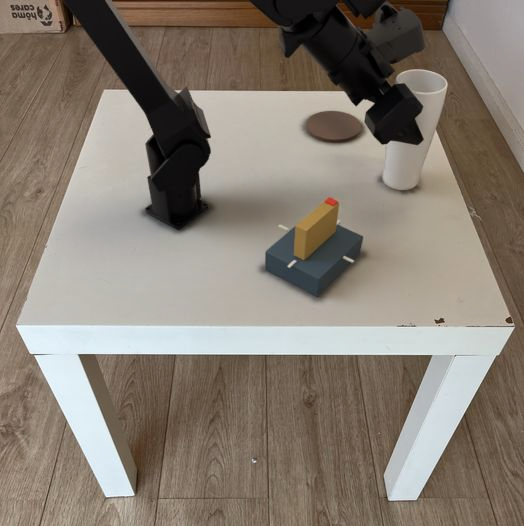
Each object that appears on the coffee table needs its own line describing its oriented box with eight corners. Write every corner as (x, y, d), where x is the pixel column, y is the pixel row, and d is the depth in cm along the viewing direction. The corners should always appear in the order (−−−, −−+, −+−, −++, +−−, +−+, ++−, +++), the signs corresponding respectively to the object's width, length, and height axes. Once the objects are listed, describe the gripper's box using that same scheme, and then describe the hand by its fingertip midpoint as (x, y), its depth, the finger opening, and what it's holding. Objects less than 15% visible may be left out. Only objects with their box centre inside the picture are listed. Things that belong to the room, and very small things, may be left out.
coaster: (341, 149, 92) (341, 145, 91) (295, 130, 95) (295, 126, 95) (371, 125, 96) (371, 122, 96) (325, 108, 100) (326, 105, 99)
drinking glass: (385, 163, 89) (405, 64, 78) (428, 176, 87) (455, 75, 76) (369, 186, 85) (387, 85, 74) (414, 200, 83) (439, 98, 72)
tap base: (325, 305, 70) (327, 286, 67) (252, 266, 74) (251, 247, 72) (373, 256, 76) (377, 237, 73) (302, 223, 80) (304, 204, 77)
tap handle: (304, 260, 70) (306, 229, 67) (293, 255, 71) (295, 224, 67) (335, 231, 74) (340, 200, 70) (325, 226, 75) (328, 195, 71)
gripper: (424, 23, 60) (490, 114, 70) (364, -38, 71) (428, 47, 81) (342, 106, 65) (415, 179, 75) (298, 35, 76) (367, 107, 86)
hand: (407, 124), depth 79 cm, fingers open, 9 cm apart
